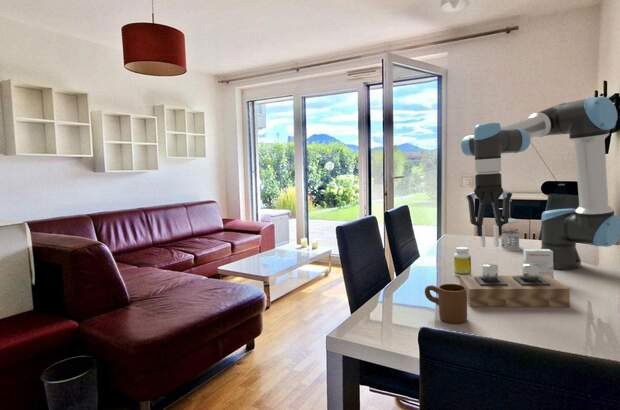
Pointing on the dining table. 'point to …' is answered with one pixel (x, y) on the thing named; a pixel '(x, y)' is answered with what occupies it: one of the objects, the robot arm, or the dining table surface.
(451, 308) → the mug
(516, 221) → the french press
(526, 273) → the peg
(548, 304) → the block
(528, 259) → the ink box
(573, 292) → the dining table surface
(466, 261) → the pill bottle
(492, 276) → the peg
